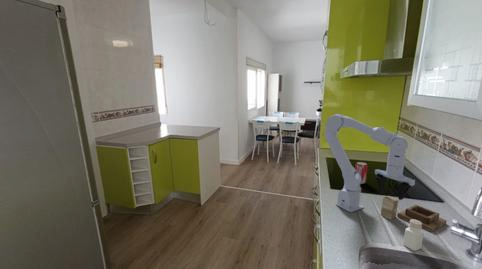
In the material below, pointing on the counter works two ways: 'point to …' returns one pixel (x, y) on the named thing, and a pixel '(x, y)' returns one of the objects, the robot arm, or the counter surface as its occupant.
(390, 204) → the birch peg
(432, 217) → the peg holder
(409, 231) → the salt shaker
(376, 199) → the counter surface
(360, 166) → the beverage can
